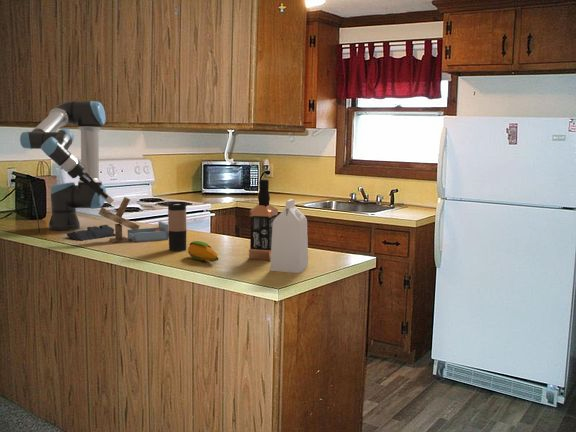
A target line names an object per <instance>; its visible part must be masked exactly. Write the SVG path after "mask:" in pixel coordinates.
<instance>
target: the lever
mask: <svg viewBox="0 0 576 432" xmlns="http://www.w3.org/2000/svg"><path fill="white" fill-rule="evenodd" d="M130 201H131V199H130V198H128V197H126V196H124V197H123V199H122V202H121V203H120V206H119V207H118V209H117V211H116V213H113V212H110V211H108V210H107V208H105V207H103V206H102V207H100V209H99V212H98V215H99V216H101V217H104V218H106V219H108V220H111V221H113V222H115V223H116V224H121V225H122V226H124V227H126V228H127V229H128V228H129V229H133V230H135V231H138V229H140V227H141V226H140V225H139V224H137V223H135V222H132V221H130V220H129V219H126V218H124V217H123V216H124V213H125V211H126V210H127V207H128V205H129V203H130Z"/></svg>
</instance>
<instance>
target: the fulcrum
mask: <svg viewBox="0 0 576 432" xmlns="http://www.w3.org/2000/svg"><path fill="white" fill-rule="evenodd" d="M114 231H115V232H114V234H115V236H114V237H109V241H110V242H111V243H113V244H114V243H127V242H129V238H128V237H126V236H123V225H122V224H119V223H115V224H114Z"/></svg>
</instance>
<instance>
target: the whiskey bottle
mask: <svg viewBox="0 0 576 432" xmlns="http://www.w3.org/2000/svg"><path fill="white" fill-rule="evenodd" d="M269 181H270V180H269V179H266V178H265V179H264V178H263V179H259V187H258V188H259V191H258V196H257V199H258V204H257V205H256V206H254V207H253V208H251V209H250V210H249V216H250V239H249V240H250V242H249V243H250V245H249V246H250V247H249V249H248V259H249V260H252V261H253V260H256V261H270V262H271V244H272V226H273V221H274V219H275V218H276V217H277V216H278V215H279V214H278V211H279V209H278V208H277V207H274V206H273V205H271V204H270V199H271V197H270V191H269V188H270V187H269V184H270V182H269Z"/></svg>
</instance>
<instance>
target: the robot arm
mask: <svg viewBox="0 0 576 432" xmlns="http://www.w3.org/2000/svg"><path fill="white" fill-rule="evenodd" d="M106 119H107V118H106V111H105V107H104V106H103V104H102V103H101V102H100V101H95V100H94V101H93V100H69V101H65V102H62V103H60V104H57V105H56V106H54V107H53V108H52V109H51V110H50V111H49V113H48V116H47V117H45V118H44V119H43V120H42V121H41V122H40V123H38V125H37V126H35V128H33V129H32V130H31V131H23V132H21V133H20V137H19V143H20V145H21V147H22V148H23V149H30V150H33V149H34V150H37V149H38V150H41V151H43V153H44V154H45V155H46V156H47V157H49V158H50V159H51V160H52V161H53V162H55V164H57V165H58V166H59V169H60V170H63V171H65V172H67V175H68V176H69V177H71V178H72V179H75V178H77V177H78V179H79V180H78V181H77V185H76V184H75V182H74V181H73V182H72V181H71V182H64V183H62V182H61V183H57V184H53V185H51V187H50V194H49V195H50V205H51V215H50V218H49V221H48V229H49V230H50V229H51V230H52V231H71V230H70V229H73V230H78V229H81V223H80V220H79V218H78V215H77V211H76V210H77V209H101V208H102V207H103V205H104V204H105V202H106V203H107V204H108V205H111V204H112V203H113V202H114V201H115V200H114V199H113V197H111V196H110V194H108V193H107V190H106V185H104V184H103V182H102V180H101V179H100V176H99V173H100V169H99V168H100V167H99V151H100V150H99V141H100V140H99V134H100V133H99V131H101V130H102V126H103V125H105V124H106ZM66 125H77V128H78V130H79V131H80V161H79V159H78V158H77V157H76V156H75V155H74V154H73V153H71V152H70V151H69V150H68V149H69V148H70V147H71V145H72V144H73V142H74V139H75V135H74V133H73V131H71V130H70V129H69V128H62V127H65V126H66ZM77 228H78V229H77Z"/></svg>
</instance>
